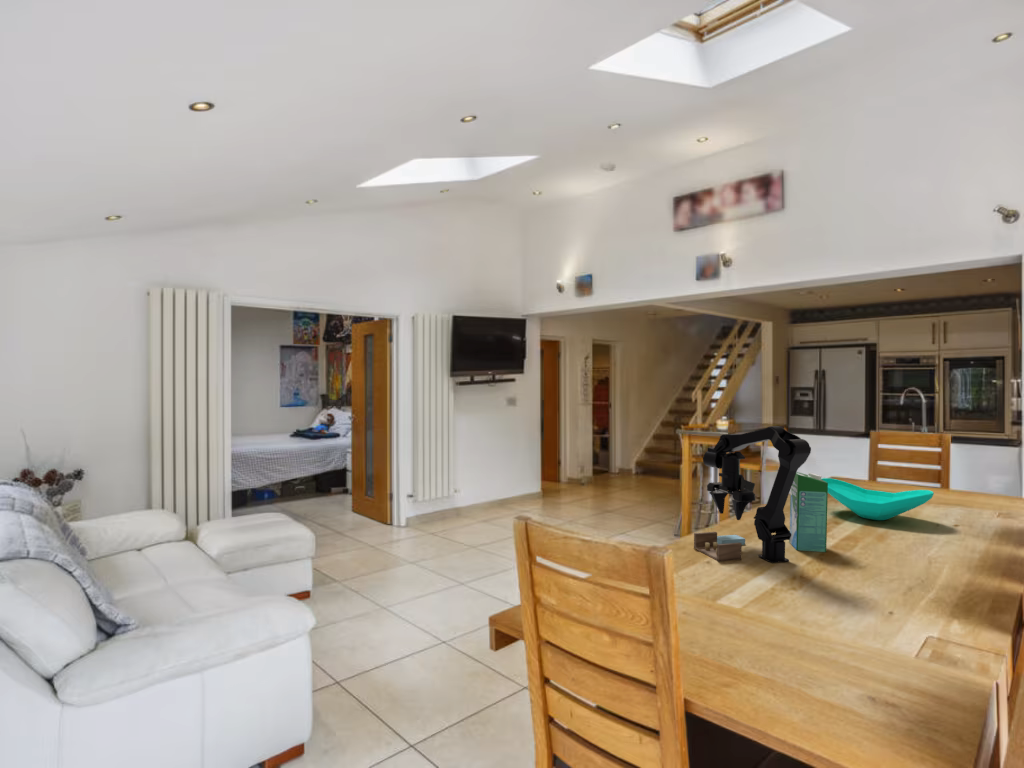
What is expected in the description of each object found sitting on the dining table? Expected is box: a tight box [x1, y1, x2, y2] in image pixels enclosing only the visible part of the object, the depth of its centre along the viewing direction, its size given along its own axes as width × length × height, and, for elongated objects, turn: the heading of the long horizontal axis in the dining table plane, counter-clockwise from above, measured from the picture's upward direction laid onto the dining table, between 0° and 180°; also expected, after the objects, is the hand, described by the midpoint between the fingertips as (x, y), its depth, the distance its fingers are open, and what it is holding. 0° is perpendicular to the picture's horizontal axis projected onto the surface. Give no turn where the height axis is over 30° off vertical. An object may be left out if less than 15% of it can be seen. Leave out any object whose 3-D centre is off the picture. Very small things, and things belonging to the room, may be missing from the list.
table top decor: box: [821, 477, 935, 521], centre depth 234 cm, size 40×28×13 cm
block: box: [717, 534, 746, 546], centre depth 197 cm, size 9×5×2 cm, turn 106°
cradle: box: [693, 531, 742, 562], centre depth 186 cm, size 14×8×5 cm, turn 15°
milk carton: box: [788, 471, 829, 553], centre depth 193 cm, size 9×9×25 cm
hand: (729, 516), depth 197 cm, fingers open, 9 cm apart
